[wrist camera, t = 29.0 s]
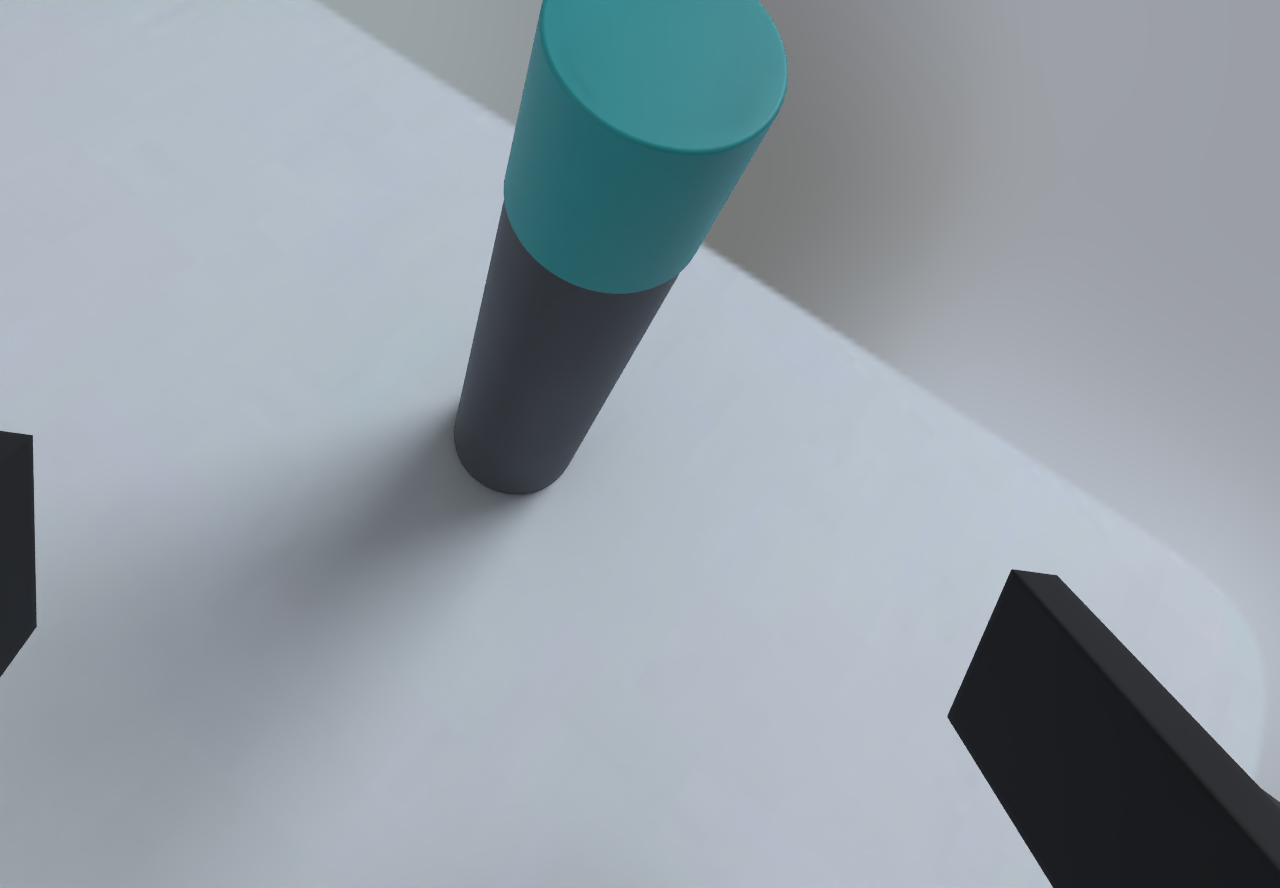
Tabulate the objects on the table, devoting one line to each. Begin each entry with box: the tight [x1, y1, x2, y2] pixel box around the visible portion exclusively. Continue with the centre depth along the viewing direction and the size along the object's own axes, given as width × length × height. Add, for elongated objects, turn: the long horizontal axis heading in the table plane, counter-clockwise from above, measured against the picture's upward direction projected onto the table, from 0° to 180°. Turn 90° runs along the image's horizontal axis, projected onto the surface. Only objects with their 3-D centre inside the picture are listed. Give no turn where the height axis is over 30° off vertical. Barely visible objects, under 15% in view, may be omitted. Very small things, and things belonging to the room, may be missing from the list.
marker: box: [454, 0, 788, 494], centre depth 16 cm, size 3×3×12 cm
